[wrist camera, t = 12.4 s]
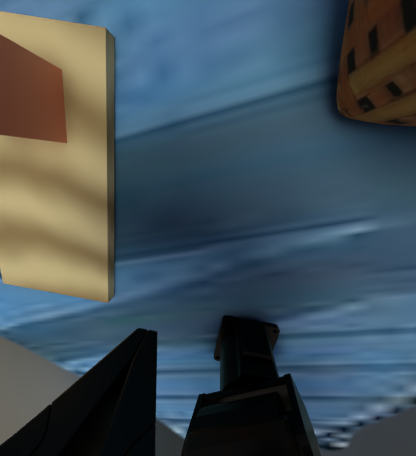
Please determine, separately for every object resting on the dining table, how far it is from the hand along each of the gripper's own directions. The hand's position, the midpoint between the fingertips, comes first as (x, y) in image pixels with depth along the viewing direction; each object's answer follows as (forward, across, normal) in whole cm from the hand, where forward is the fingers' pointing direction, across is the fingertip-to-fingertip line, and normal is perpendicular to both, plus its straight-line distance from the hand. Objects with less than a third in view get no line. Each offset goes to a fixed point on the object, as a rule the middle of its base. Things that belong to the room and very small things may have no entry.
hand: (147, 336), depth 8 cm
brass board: (+12, +14, -3) cm, 19 cm away
